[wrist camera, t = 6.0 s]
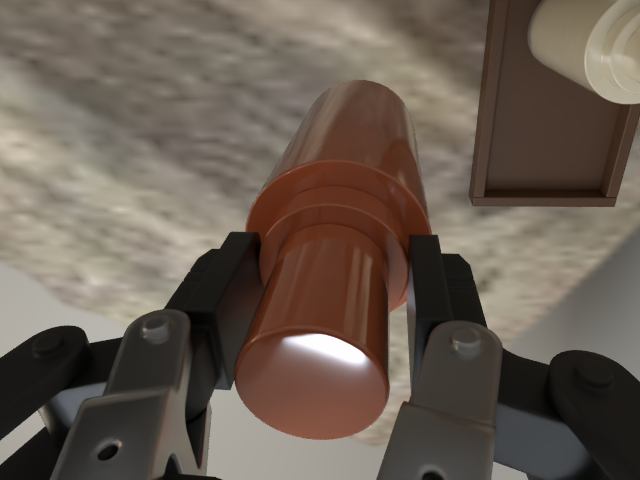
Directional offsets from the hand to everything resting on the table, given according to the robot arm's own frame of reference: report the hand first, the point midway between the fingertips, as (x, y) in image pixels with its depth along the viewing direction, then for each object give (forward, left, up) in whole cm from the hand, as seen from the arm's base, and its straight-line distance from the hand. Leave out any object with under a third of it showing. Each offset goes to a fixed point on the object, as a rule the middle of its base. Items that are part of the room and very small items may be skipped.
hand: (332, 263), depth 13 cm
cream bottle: (-3, +14, -26) cm, 29 cm away
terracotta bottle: (0, 0, -12) cm, 12 cm away
